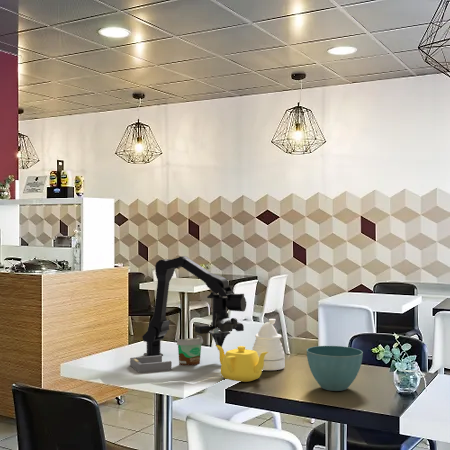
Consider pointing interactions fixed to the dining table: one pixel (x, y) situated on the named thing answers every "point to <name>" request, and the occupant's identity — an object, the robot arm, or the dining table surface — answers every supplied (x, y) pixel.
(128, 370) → the dining table surface
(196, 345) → the food container
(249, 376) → the teapot
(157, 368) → the pocket bay
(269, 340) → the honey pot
